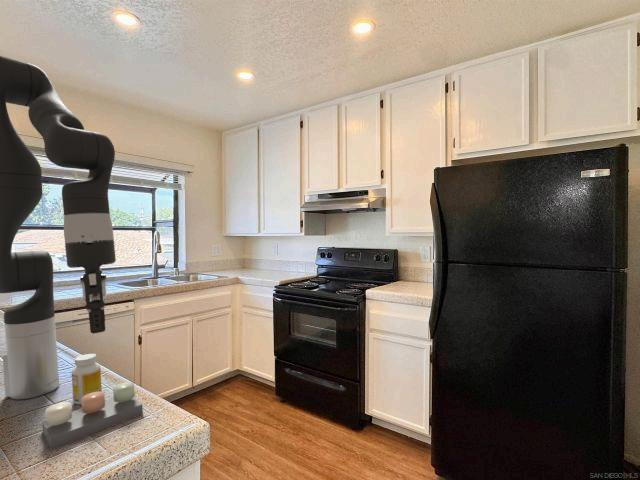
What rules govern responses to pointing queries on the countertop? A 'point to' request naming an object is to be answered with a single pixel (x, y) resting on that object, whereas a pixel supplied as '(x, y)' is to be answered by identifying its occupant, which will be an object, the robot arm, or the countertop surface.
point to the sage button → (124, 392)
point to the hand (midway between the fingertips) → (98, 327)
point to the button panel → (91, 421)
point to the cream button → (58, 413)
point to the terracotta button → (93, 402)
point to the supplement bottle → (85, 377)
